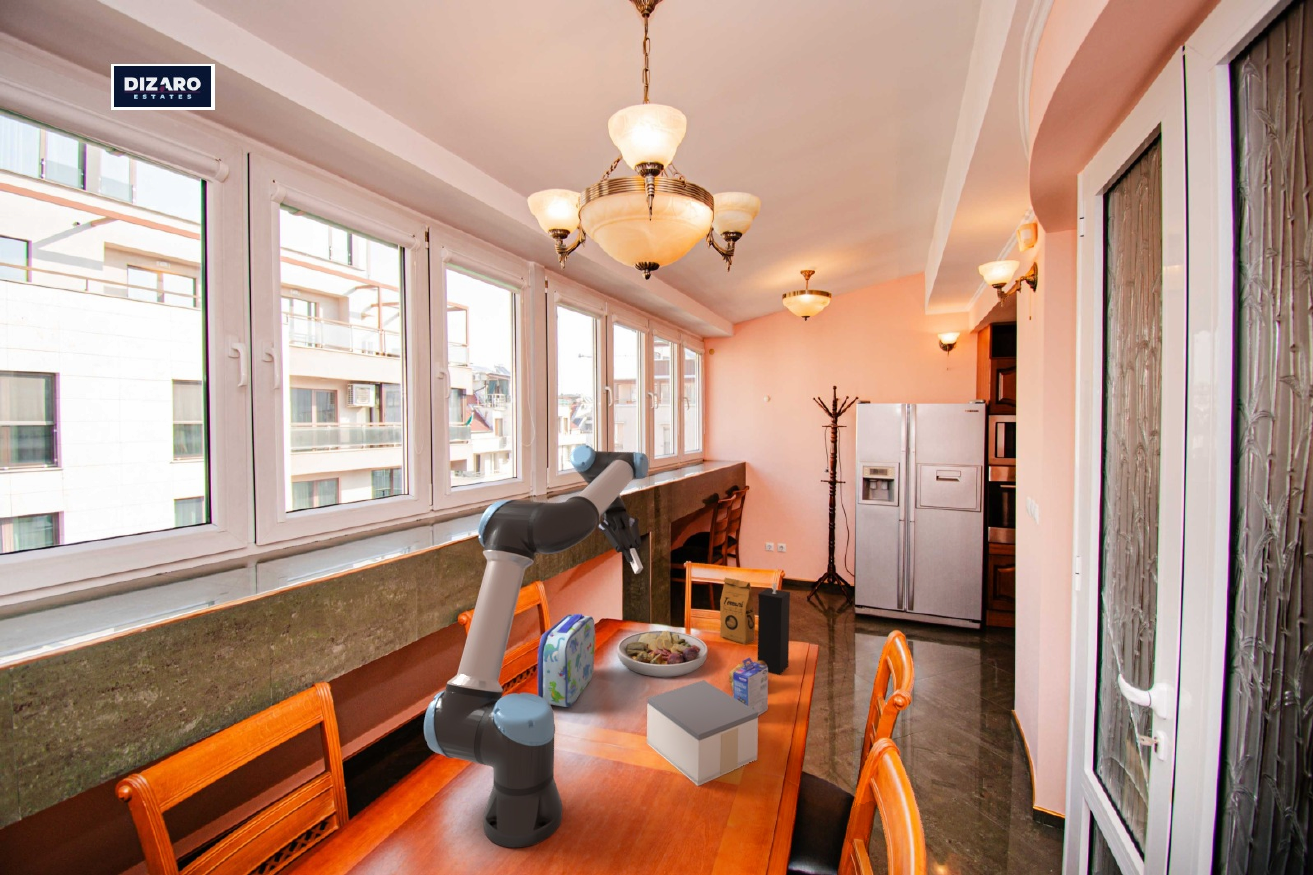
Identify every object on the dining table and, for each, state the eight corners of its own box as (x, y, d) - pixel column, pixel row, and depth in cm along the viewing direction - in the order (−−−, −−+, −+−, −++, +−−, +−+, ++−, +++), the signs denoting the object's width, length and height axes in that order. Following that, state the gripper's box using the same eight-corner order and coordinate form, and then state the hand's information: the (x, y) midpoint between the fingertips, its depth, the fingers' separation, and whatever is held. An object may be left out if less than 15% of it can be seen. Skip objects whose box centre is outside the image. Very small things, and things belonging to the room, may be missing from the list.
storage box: (646, 743, 142) (647, 703, 141) (703, 722, 152) (703, 685, 152) (698, 786, 125) (699, 741, 125) (757, 760, 135) (758, 718, 135)
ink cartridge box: (751, 703, 163) (752, 652, 163) (768, 710, 159) (769, 658, 159) (731, 715, 156) (732, 663, 156) (748, 723, 152) (749, 669, 152)
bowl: (598, 662, 190) (598, 638, 190) (657, 637, 213) (657, 616, 213) (668, 690, 171) (668, 664, 170) (724, 660, 193) (725, 637, 193)
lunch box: (565, 671, 183) (566, 605, 182) (598, 674, 180) (599, 608, 180) (532, 710, 157) (532, 635, 157) (569, 715, 155) (570, 638, 154)
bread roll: (744, 701, 164) (745, 673, 164) (718, 689, 171) (718, 663, 171) (770, 687, 174) (771, 660, 173) (744, 676, 180) (745, 651, 180)
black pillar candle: (788, 667, 188) (790, 582, 187) (780, 675, 181) (781, 587, 180) (766, 661, 192) (767, 578, 191) (756, 669, 185) (758, 583, 185)
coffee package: (744, 647, 204) (745, 586, 203) (715, 638, 212) (716, 579, 212) (759, 640, 211) (760, 580, 210) (731, 631, 219) (732, 574, 219)
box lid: (647, 702, 141) (647, 697, 141) (703, 684, 152) (703, 680, 152) (698, 740, 125) (698, 734, 125) (758, 717, 135) (758, 712, 135)
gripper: (623, 509, 178) (653, 575, 165) (586, 512, 171) (613, 581, 157) (633, 494, 173) (664, 560, 160) (594, 496, 166) (623, 566, 153)
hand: (639, 570), depth 159 cm, fingers closed
